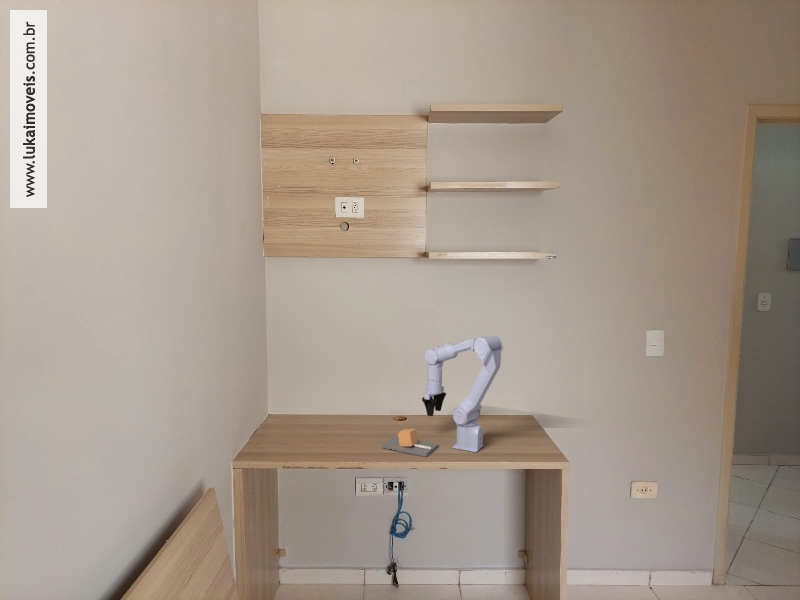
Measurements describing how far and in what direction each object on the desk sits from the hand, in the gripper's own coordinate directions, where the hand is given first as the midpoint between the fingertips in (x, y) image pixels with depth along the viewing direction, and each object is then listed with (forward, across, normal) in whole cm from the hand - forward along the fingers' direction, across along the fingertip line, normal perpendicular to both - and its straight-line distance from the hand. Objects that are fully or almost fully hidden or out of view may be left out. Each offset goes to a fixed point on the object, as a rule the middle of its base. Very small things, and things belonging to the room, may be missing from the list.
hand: (434, 413), depth 203 cm
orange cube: (+8, +16, -3) cm, 18 cm away
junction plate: (+9, +15, -3) cm, 18 cm away
